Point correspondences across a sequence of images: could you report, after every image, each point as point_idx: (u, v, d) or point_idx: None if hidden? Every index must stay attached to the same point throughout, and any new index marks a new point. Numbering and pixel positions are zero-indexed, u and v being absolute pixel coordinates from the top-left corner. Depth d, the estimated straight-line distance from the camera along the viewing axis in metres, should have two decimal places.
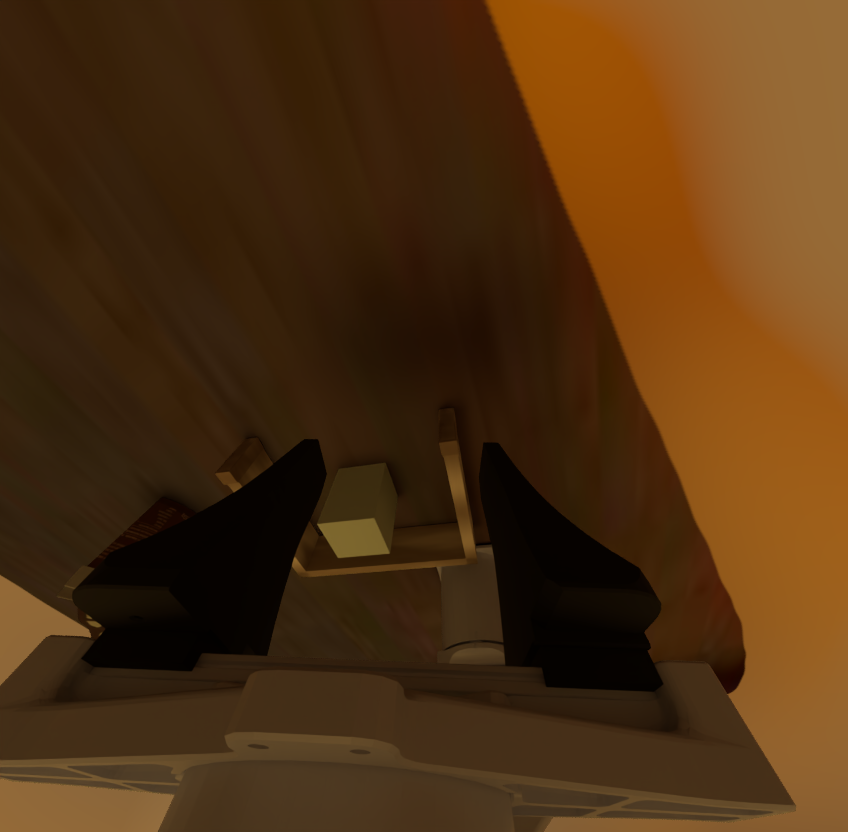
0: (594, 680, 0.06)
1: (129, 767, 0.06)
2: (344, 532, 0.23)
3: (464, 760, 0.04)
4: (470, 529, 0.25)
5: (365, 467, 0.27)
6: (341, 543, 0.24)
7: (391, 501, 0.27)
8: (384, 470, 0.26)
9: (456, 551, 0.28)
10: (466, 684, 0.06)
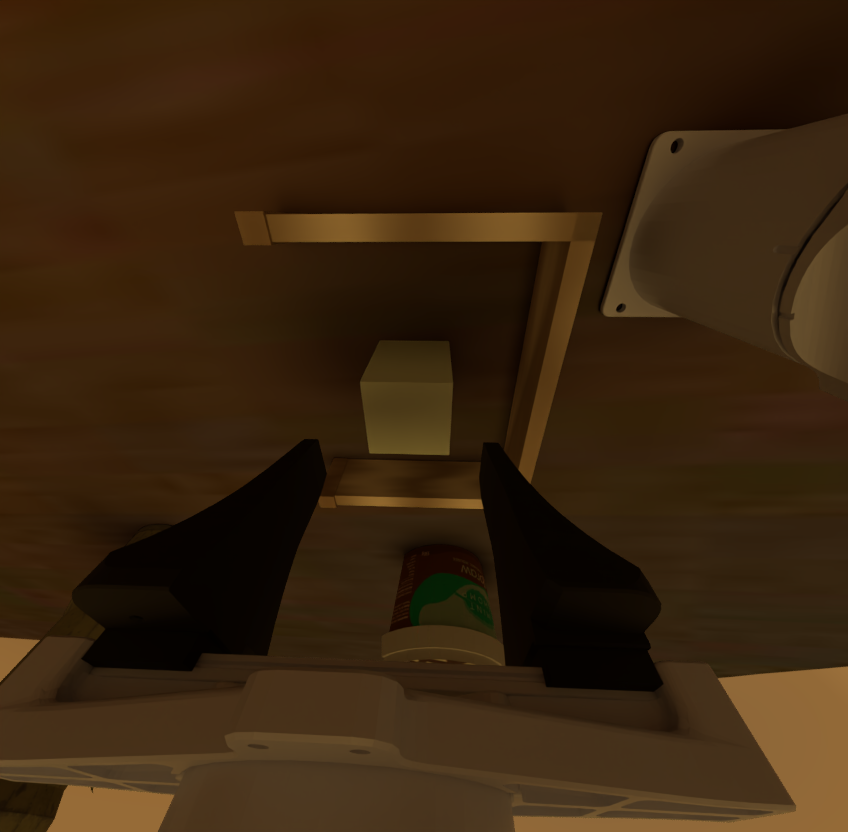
0: (593, 680, 0.06)
1: (129, 767, 0.06)
2: (390, 428, 0.16)
3: (464, 760, 0.04)
4: (472, 215, 0.12)
5: None
6: (414, 440, 0.16)
7: (424, 351, 0.18)
8: (379, 345, 0.19)
9: (559, 261, 0.14)
10: (466, 684, 0.06)
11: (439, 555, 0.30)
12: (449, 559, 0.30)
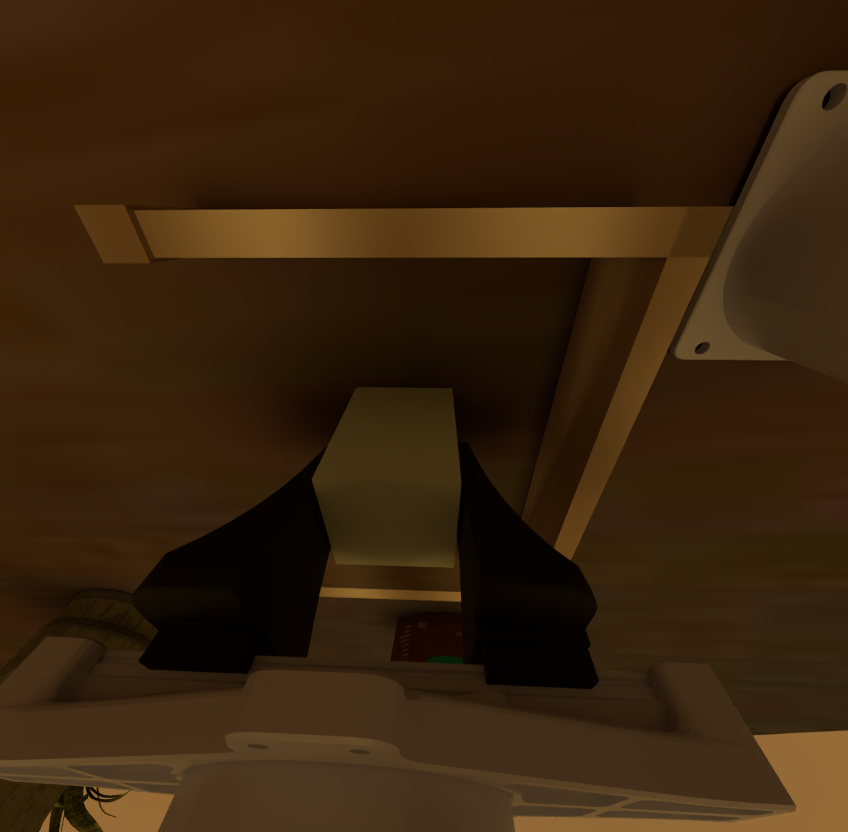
0: (531, 677, 0.06)
1: (129, 767, 0.06)
2: (365, 537, 0.10)
3: (464, 760, 0.04)
4: (498, 213, 0.07)
5: None
6: (401, 550, 0.11)
7: (416, 409, 0.12)
8: (354, 396, 0.13)
9: (636, 288, 0.08)
10: (466, 684, 0.06)
11: (439, 628, 0.25)
12: (451, 634, 0.24)
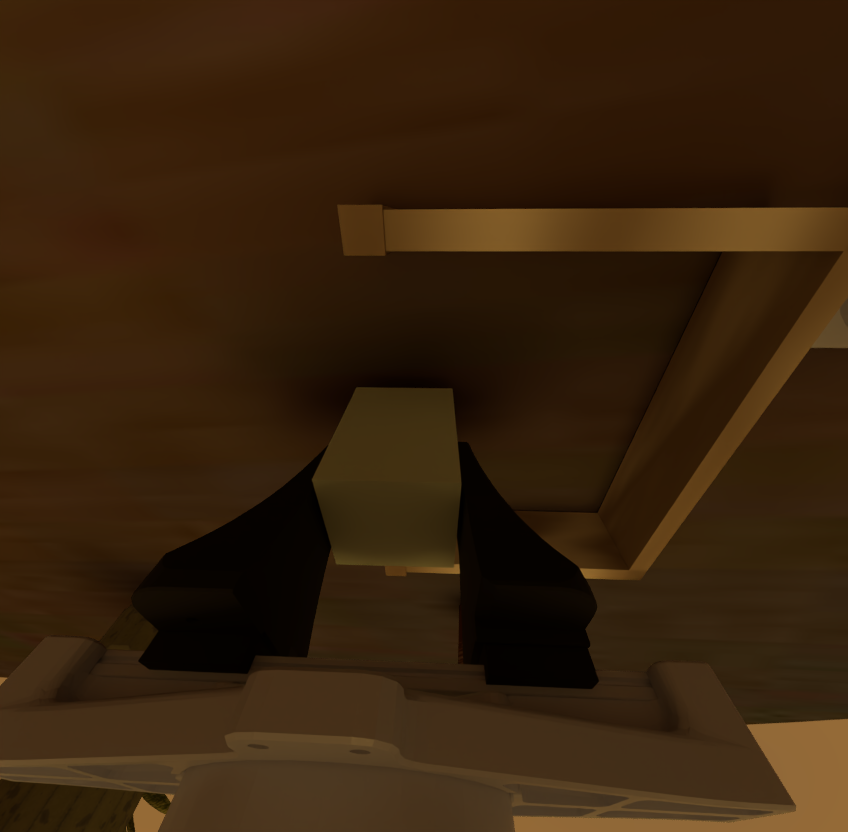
0: (530, 677, 0.06)
1: (129, 767, 0.06)
2: (365, 537, 0.10)
3: (464, 760, 0.04)
4: (705, 212, 0.08)
5: None
6: (401, 551, 0.11)
7: (417, 410, 0.12)
8: (354, 397, 0.13)
9: (795, 279, 0.09)
10: (466, 684, 0.06)
11: None
12: None
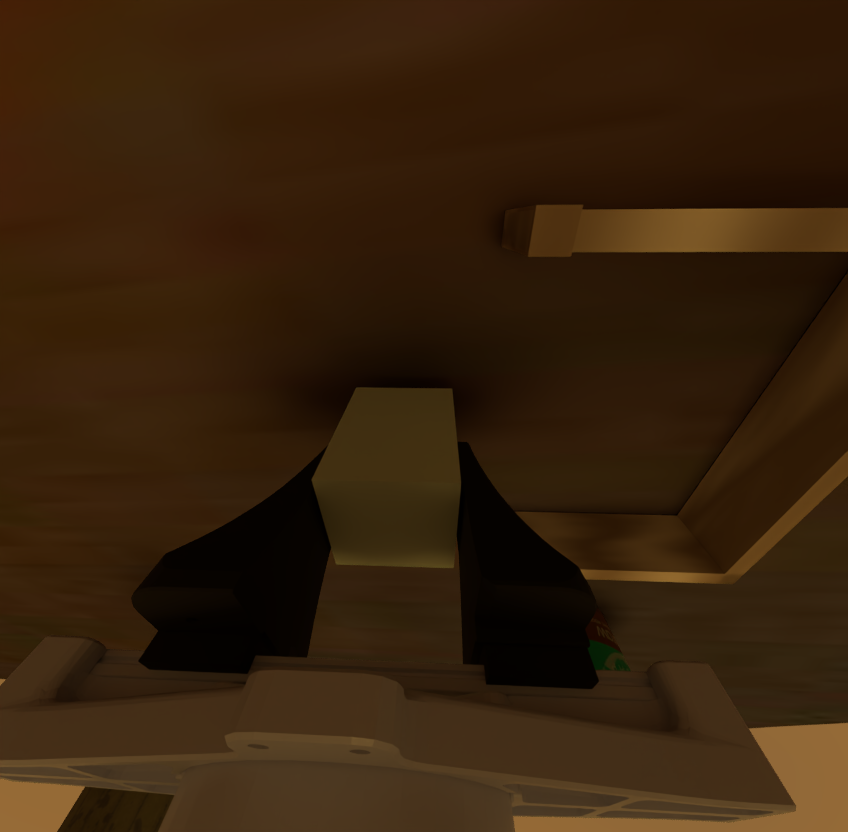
0: (530, 677, 0.06)
1: (129, 767, 0.06)
2: (364, 537, 0.10)
3: (464, 760, 0.04)
4: None
5: None
6: (401, 551, 0.11)
7: (416, 410, 0.12)
8: (354, 397, 0.13)
9: None
10: (466, 684, 0.06)
11: None
12: None
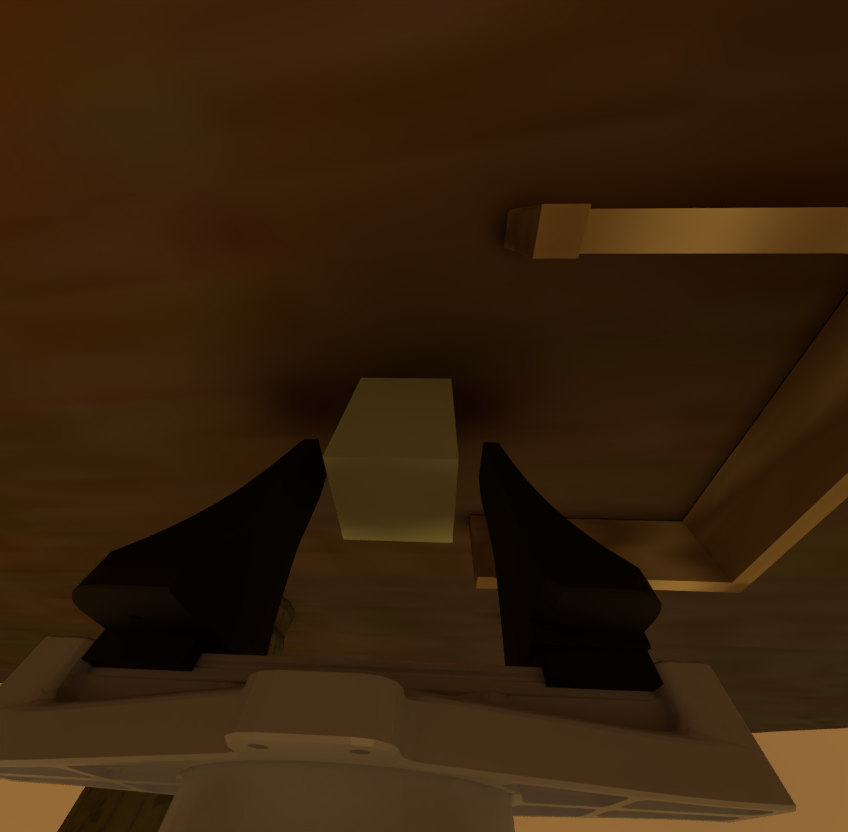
0: (594, 680, 0.06)
1: (129, 767, 0.06)
2: (370, 512, 0.11)
3: (464, 760, 0.04)
4: None
5: None
6: (403, 525, 0.12)
7: (418, 397, 0.13)
8: (359, 386, 0.14)
9: None
10: (466, 684, 0.06)
11: None
12: None
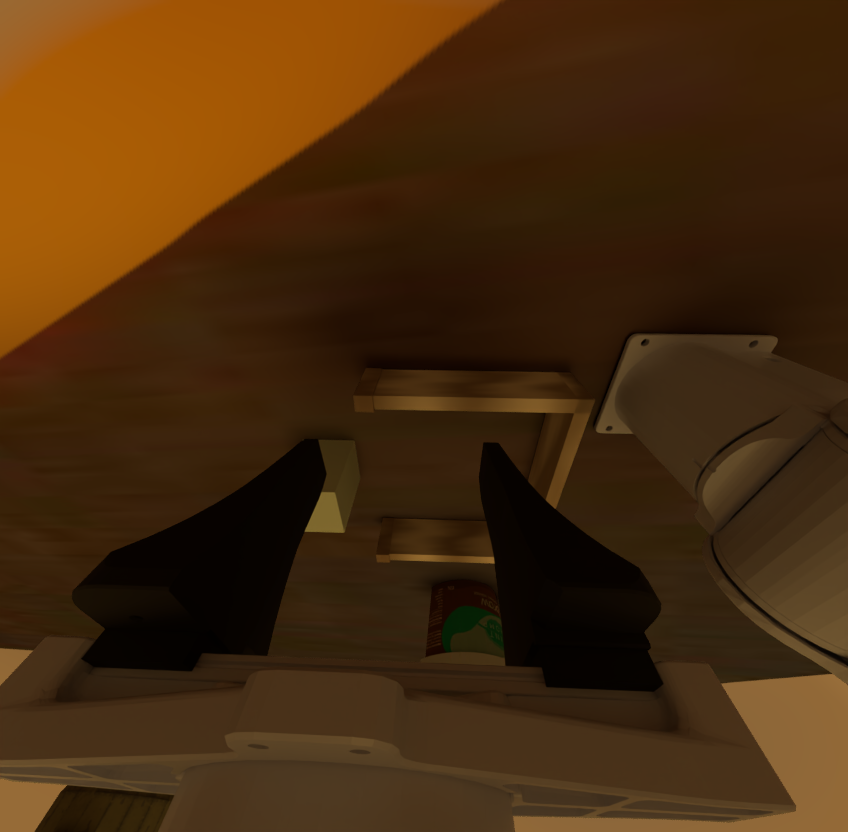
0: (594, 680, 0.06)
1: (129, 767, 0.06)
2: None
3: (464, 760, 0.04)
4: (510, 399, 0.19)
5: None
6: (317, 523, 0.23)
7: (330, 454, 0.24)
8: None
9: (566, 417, 0.20)
10: (466, 684, 0.06)
11: (462, 589, 0.36)
12: (471, 593, 0.36)
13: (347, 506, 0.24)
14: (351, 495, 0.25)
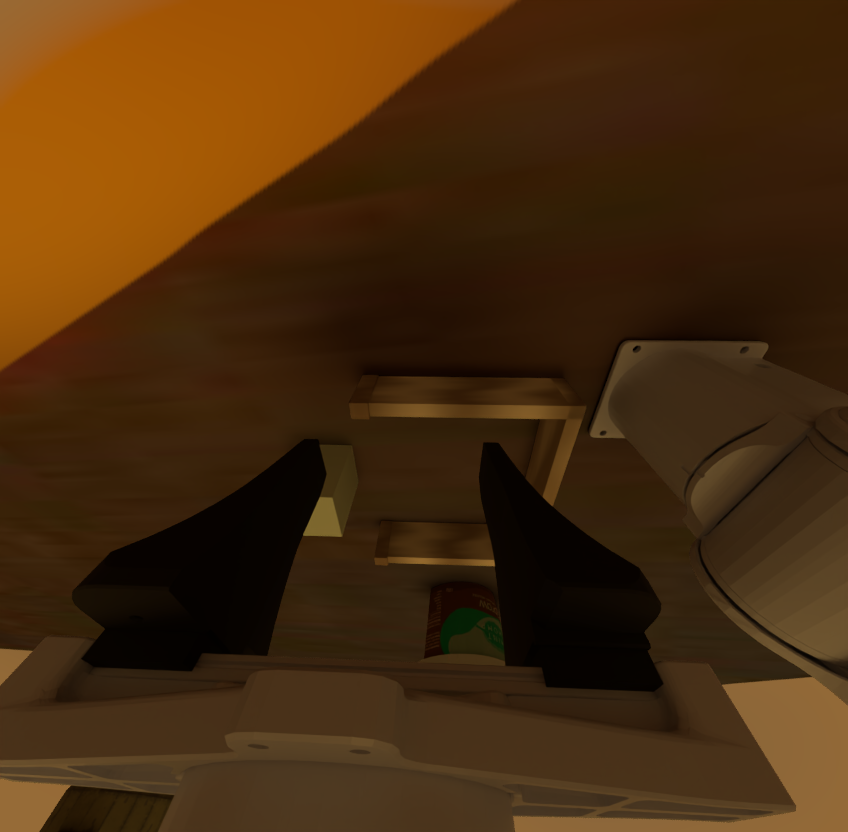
0: (594, 680, 0.06)
1: (129, 767, 0.06)
2: None
3: (464, 760, 0.04)
4: (503, 406, 0.19)
5: None
6: (315, 527, 0.23)
7: (328, 459, 0.25)
8: None
9: (559, 423, 0.20)
10: (466, 684, 0.06)
11: (461, 591, 0.37)
12: (469, 595, 0.36)
13: (345, 510, 0.25)
14: (349, 499, 0.26)
